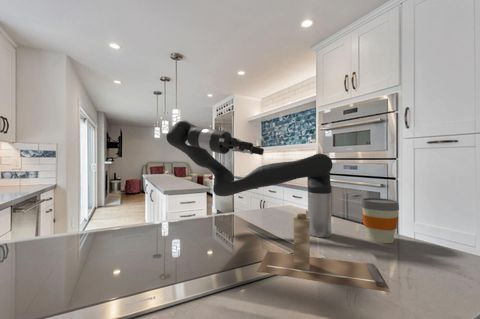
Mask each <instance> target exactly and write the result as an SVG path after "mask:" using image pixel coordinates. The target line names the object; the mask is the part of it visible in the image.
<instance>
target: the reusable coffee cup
mask: <svg viewBox="0 0 480 319" xmlns="http://www.w3.org/2000/svg"><path fill="white" fill-rule="evenodd" d="M360 206H361V207H362V208H361V209H362V212H361V215H362V223H363V226H364V229H365V236H366V239H368V240H369V241H372V242H375V243H380V244H393V243H394V241H395V232H396V230H397V228H398V221H399V215H398V214H399V210H400V205H399V201H398V200H395V199H390V198H382V197H381V198H380V197H365V198H361V205H360Z"/></svg>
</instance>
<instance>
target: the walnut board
mask: <svg viewBox="0 0 480 319" xmlns="http://www.w3.org/2000/svg"><path fill="white" fill-rule="evenodd" d="M256 272H257V273H258V272H259V273H264V274H271V275H277V276H284V277H289V278H297V279H302V280H310V281H315V282H323V283H329V284H336V285H342V286H348V287H354V288H355V287H356V288H361V289H366V290H367V289H368V290H373V291H374V290H375V291H381V292H386V293H391V291H390V290H389V288H388V285H387V284H386V282H385V280H384V279H383V277H382V275H381V274H380V272H379V270H378V269H377V267H376V265H375V264H374V263H370V262H366V263H363V262H357V261H348V260H347V261H346V260H341V259H340V260H339V259H331V258H323V257H316V256H310V268H309V270H305V269H298V268H294V253H291V254H290V253H282V252H277V251H276V252H275V251H266V253H265V255H264V256H263V258H262V261H261V262H260V264H259V265H258V267H257V270H256Z"/></svg>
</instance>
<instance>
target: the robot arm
mask: <svg viewBox="0 0 480 319" xmlns="http://www.w3.org/2000/svg"><path fill="white" fill-rule="evenodd" d="M165 136H166V137H165V139H166V141H167V142H168V144H169V145H171V146H173V147H174V148H176V149H177V150H180V151H181V152H182V153H184V154H185V155H186V156H187V157H188V158H190V160H191V161H192V162H193V163H195V165H197V166H198V167H201V168H205V169H208V170H209V171H210V172H211V173H212V174H213V176H214V179H213V185H212V191H213V193H214V195H216V196H218V197H229V196H233V195H235V194H240V193H242V192H246V191H251V190H255V189H260V188H266V187H271V186H276V185H280V184H284V183H287V182H291V181H294V180H297V179H305V178H307V179H306V180H307V181H306V182H307V209H305V214H306V217H310V236H312V237H318V238H329V237H332V184H331V171H332V169H333V164H334V163H333V161H332V159H331V157H329V156H328V154H324V153H320V152H319V153H315V154H313V155H311V156H308V157H304V158H302V159H298V160H291V161H281V162H274V163H269V164H264V165H261V166H258V167H256V168H254V169H253V170H252V171H251V172H249V173H248V174H247V175H245V176H243V177H242V178H239V179H235V176H234V174H233V172H231V170H229V169H228V168H227V167H226V166H224V165H223V164H222V163H221V162H220V161H219V160H217V159H216V158H214V157H213V156H212V154H211V153H209V152H213V153H216V154H222V155H225V154H228V153H229V152H230V151H232V152H239V153H242V154H250V155H253V154H255V155H259V156H263V155H264V152H265V151H264V150H265V149H264V148H262V147H258V146H255V145H254V143H252V142H248V141H243V140H241V139H239V138H237V137H233V136H232V134H231V133H230V132H229V131H225V130H219V129H215V128H204V127H199V126H197V125H195V124H192V123H191V122H189V121H187V120H184V119H180V120H178V121H176V122H175V123H174V124H173V126H172V127H171V129H169V131H168V132H167V133H166V135H165ZM186 142H187V143H186Z"/></svg>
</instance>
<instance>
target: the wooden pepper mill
mask: <svg viewBox="0 0 480 319" xmlns="http://www.w3.org/2000/svg"><path fill="white" fill-rule="evenodd" d="M310 236H311V235H310V217H306V213H301V212H299V213H297V214H296V215H294V217H293V255H294V268H298V269H305V270H309V268H310V257H311V256H310V255H311V252H310V250H311V246H310V243H311V242H310V241H311V240H310Z"/></svg>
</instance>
